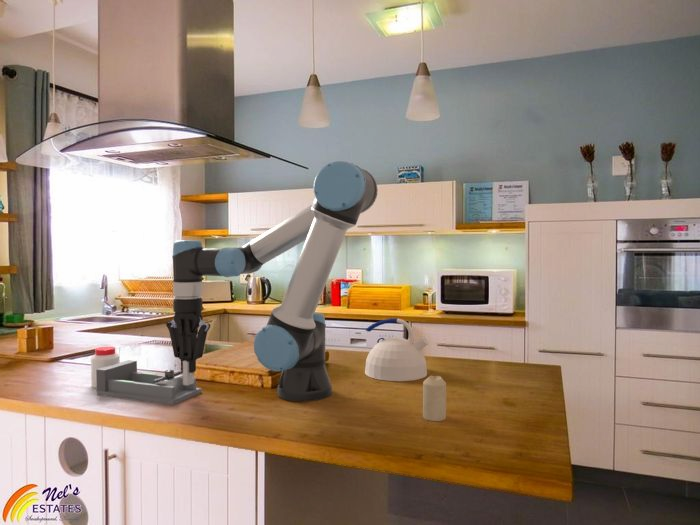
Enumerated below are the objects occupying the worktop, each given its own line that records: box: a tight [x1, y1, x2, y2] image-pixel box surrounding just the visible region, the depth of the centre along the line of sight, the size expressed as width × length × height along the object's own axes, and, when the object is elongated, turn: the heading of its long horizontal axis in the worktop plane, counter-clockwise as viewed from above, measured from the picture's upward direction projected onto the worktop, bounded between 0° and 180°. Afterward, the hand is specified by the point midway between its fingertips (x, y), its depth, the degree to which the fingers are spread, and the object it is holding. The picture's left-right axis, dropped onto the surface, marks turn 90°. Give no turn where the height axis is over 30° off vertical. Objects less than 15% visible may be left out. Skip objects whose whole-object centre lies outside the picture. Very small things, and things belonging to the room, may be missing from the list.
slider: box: [154, 369, 184, 392], centre depth 142 cm, size 4×12×6 cm, turn 160°
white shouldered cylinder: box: [422, 375, 447, 422], centre depth 124 cm, size 6×6×10 cm
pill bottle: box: [90, 346, 121, 389], centre depth 154 cm, size 8×8×11 cm
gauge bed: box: [96, 359, 202, 406], centre depth 144 cm, size 26×12×7 cm, turn 69°
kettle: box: [364, 318, 429, 382], centre depth 166 cm, size 20×21×18 cm
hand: (188, 383), depth 139 cm, fingers closed
